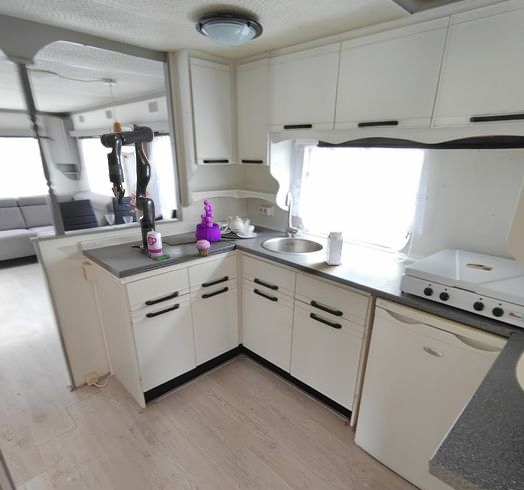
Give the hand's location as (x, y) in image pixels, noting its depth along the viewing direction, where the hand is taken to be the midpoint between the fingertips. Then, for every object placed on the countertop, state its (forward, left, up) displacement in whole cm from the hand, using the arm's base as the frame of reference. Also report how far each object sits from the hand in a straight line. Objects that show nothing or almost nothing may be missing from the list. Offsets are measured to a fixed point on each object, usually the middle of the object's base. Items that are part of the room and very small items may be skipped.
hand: (120, 205), depth 186 cm
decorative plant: (-60, +1, -32) cm, 68 cm away
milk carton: (-84, +92, -32) cm, 129 cm away
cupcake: (-37, +26, -32) cm, 56 cm away
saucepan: (-14, -8, -32) cm, 36 cm away
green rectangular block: (-14, +14, -32) cm, 38 cm away
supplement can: (-14, +7, -32) cm, 36 cm away
